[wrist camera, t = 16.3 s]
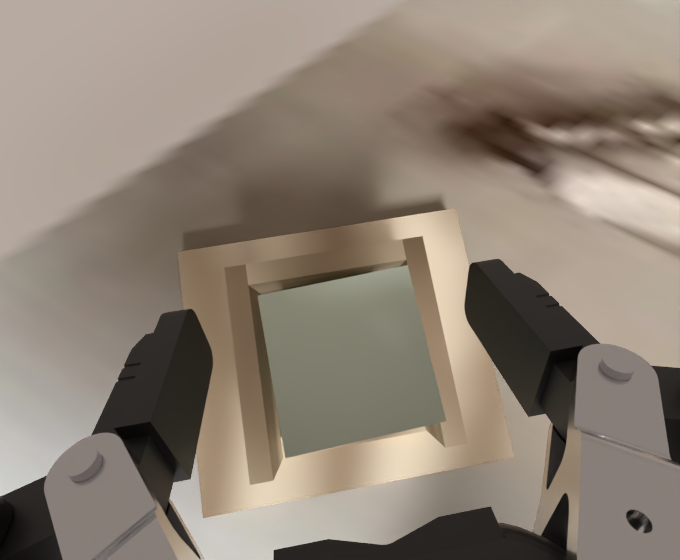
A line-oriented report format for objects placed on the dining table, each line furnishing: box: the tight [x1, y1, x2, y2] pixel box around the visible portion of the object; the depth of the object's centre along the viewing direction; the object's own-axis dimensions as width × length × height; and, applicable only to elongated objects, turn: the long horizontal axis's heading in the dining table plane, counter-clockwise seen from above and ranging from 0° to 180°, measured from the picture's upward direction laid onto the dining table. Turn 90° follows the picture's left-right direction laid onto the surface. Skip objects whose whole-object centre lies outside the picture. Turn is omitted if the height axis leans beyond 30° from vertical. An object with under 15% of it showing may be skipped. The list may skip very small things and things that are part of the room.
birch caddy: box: [178, 208, 514, 518], centre depth 15 cm, size 14×12×5 cm
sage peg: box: [258, 265, 446, 458], centre depth 13 cm, size 4×4×8 cm
